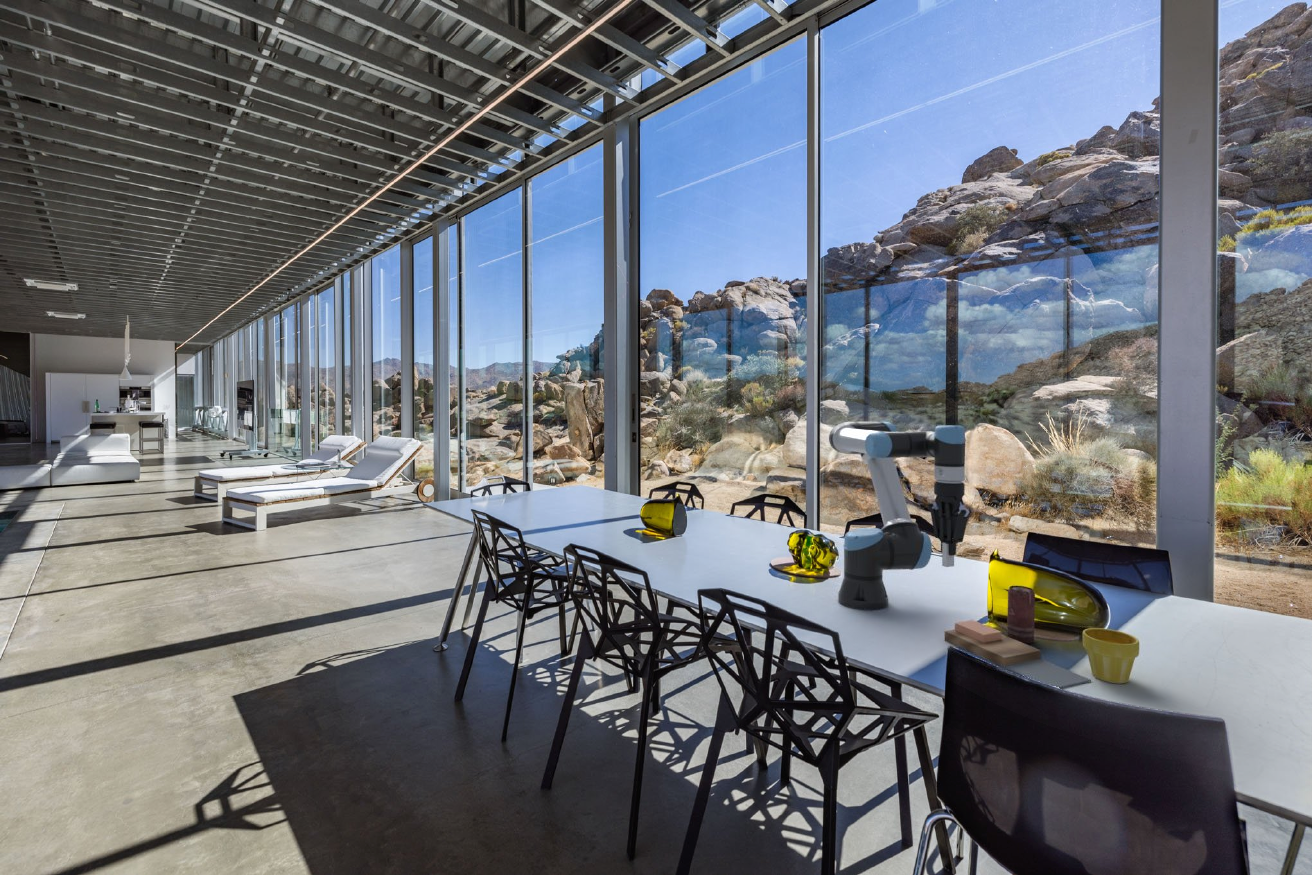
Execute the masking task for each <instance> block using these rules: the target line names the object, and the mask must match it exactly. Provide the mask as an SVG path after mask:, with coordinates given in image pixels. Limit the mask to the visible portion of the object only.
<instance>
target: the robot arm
mask: <svg viewBox="0 0 1312 875" xmlns="http://www.w3.org/2000/svg"><path fill="white" fill-rule="evenodd" d="M829 432H830V433H829V435H828V441H829V444H830V446H831V448H832V449H833V450H834V451H836V452H838V453H840V454H846V455H860V458H861V461H862V462H863V463H864V464H867V466H868V470H869V474H870V478H871V481H872V486H873V488H874V489H873V490H874V492H875V496H876V499H877V504H878V507H879V508H878V509H879V513H880V515H881V518H882V519H881V520H882V523H883V527H881V529H880V528H877V527H860V528H855V529H851V530H848V532H846V533H845V535H844V543H843V580H842V581H841V586H840V587H839V588H840V589H839V591H838V592H837V593H838V596H837V597H838V598H837V601H838V602H839V603H840V604H842V605H843V606H846V607H848V608H852V609H857V610H865V611H873V610H877V611H878V610H882V609H885V608H887V607H888V606H889V596H888V593H887V590H886V586H885V584H884V580H883V571H887V570H888V571H889V570H890V571H893V570H896V571H897V570H911V571H912V570H917V569H918V570H919V569H923V568H925V567H927V566H928V564H929V563H930V560H931V557H932V551H933V550H932V540H931V537H930V535H929V534H928V533H927V532H925V531H920V528H919V525H918V523H917V522H915V521H913V520H912V518H911V515H910V512H909V508H908V504H907V501H906V498H905V494H904V491H903V487H902V484H901V480H900V477H899V474H898V470H897V466H896V464H895V460H894V458H934V473H933V474H934V475H933V476H934V480H935V481H934V482H933V484H934V485H933V494H934V495H935V496H936V497H935V499H934V501H933V502H931V503H928V504H927V507H928V510H929V511H930V516H931V521H932V529H933V535H934V537H935V539H938V540H939V542H940V552H941V558H942V559H941V566H942V567H944V568H949V567H950V568H951V567H955V556H956V554H957V544H959V543H963V542H964V538H965V533H966V529H967V524H968V519H969V517H970V516H971V514H972V509H969V508H966V506H964V501H963V497H964V496H965V490H966V489H965V488H966V487H965V486H966V484H965V483H964V481H965V480H966V478H965V477H966V472H965V471H966V469H965V468H966V466H965V464H966V463H965V462H966V442H967V440H966V439H967V438H966V430H965V427H964V426H962V425H954V424H953V425H949V424H948V425H946V424H945V425H937V426H936V427H935V429H934V431H931V430H920V431H918V430H917V431H898V430H897V428H896V427H895V425H894V424H893V423H891V422H888V421H881V420H874V421H845V422H840V423H839V424H837V425H835V426H834V427H833V428H832V429H831V430H830V431H829Z"/></svg>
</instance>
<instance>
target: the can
mask: <svg viewBox="0 0 1312 875" xmlns="http://www.w3.org/2000/svg"><path fill="white" fill-rule="evenodd" d="M1035 604H1036V593H1035V591H1034V589H1033V588H1031V587H1028V586H1024V585H1010V586H1009V588H1008V590H1007V620H1006V621H1007V622H1006V626H1007V627H1006V628H1007V630H1006V636H1007V637H1009V638H1012V639H1014V640H1017V641H1019V642H1022V643H1024V644H1027V645H1029V644H1032V643H1034V641H1035V618H1036V617H1035V614H1036V612H1035V611H1036V610H1035V609H1036V607H1035V606H1036V605H1035Z"/></svg>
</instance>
